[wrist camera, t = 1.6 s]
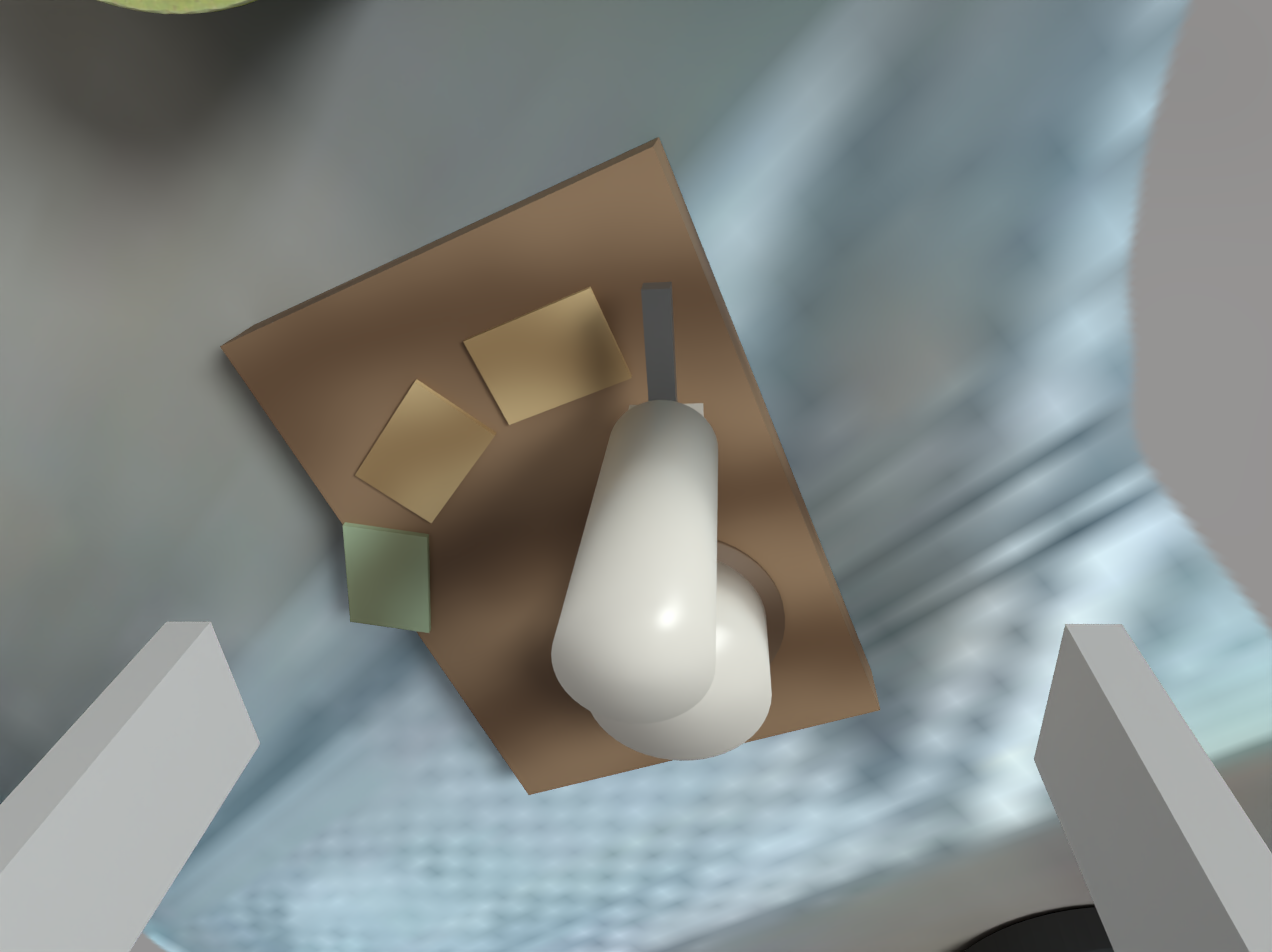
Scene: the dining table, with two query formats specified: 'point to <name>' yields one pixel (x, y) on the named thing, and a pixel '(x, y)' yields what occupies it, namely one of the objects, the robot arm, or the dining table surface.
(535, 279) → the board
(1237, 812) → the robot arm
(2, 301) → the dining table surface
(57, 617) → the dining table surface
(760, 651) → the peg
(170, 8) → the plant pot
